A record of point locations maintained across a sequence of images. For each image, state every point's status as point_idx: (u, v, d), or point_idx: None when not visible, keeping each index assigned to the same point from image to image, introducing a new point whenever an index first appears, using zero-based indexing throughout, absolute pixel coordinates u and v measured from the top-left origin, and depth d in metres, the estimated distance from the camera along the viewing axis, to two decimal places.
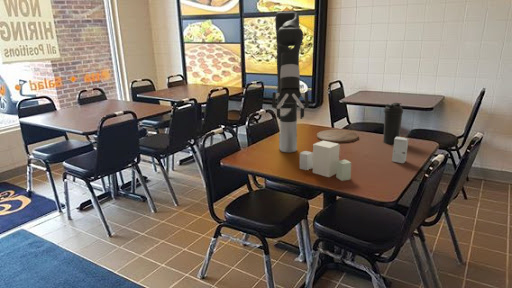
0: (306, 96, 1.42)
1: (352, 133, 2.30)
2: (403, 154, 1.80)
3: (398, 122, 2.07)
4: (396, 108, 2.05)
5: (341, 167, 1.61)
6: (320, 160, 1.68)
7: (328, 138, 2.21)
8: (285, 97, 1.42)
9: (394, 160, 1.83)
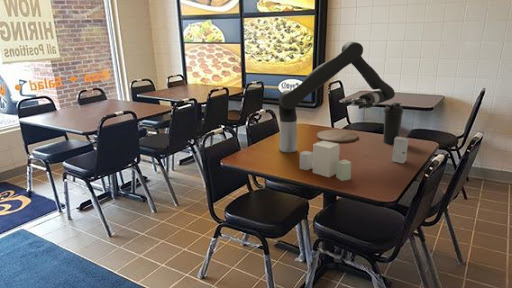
0: None
1: (352, 133, 2.30)
2: (403, 154, 1.80)
3: (398, 122, 2.07)
4: (396, 108, 2.05)
5: (341, 167, 1.61)
6: (320, 160, 1.68)
7: (328, 138, 2.21)
8: None
9: (394, 160, 1.83)
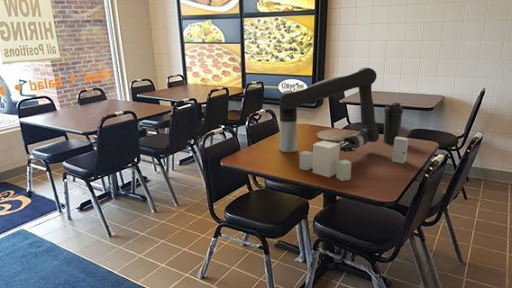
0: None
1: (352, 133, 2.30)
2: (403, 154, 1.80)
3: (398, 122, 2.07)
4: (396, 108, 2.05)
5: (341, 167, 1.61)
6: (320, 160, 1.68)
7: (328, 138, 2.21)
8: (346, 150, 1.81)
9: (394, 160, 1.83)
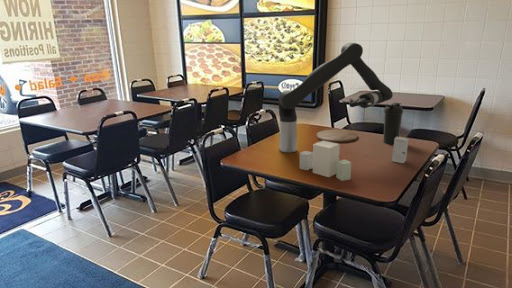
0: None
1: (352, 133, 2.30)
2: (403, 154, 1.80)
3: (398, 122, 2.07)
4: (396, 108, 2.05)
5: (341, 167, 1.61)
6: (320, 160, 1.68)
7: (328, 138, 2.21)
8: None
9: (394, 160, 1.83)
